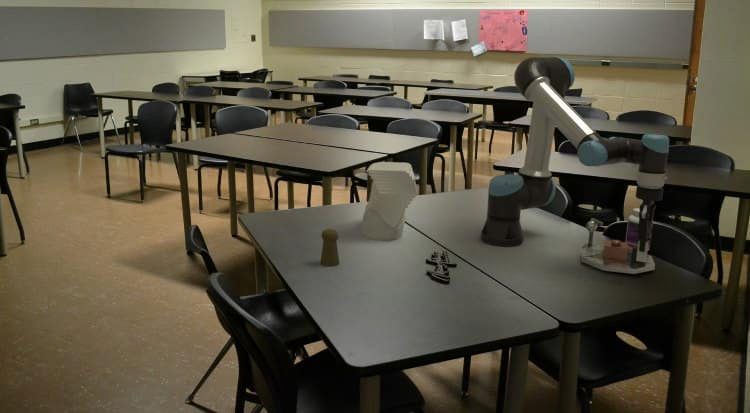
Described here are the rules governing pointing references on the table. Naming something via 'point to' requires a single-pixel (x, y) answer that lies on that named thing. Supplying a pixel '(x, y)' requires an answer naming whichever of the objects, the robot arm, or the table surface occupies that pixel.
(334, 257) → the cork
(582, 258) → the turntable
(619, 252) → the pink gift box
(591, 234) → the dial stand
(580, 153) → the robot arm
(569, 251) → the table surface
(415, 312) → the table surface
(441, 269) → the black irregular piece
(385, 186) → the paper stack
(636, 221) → the pill bottle
